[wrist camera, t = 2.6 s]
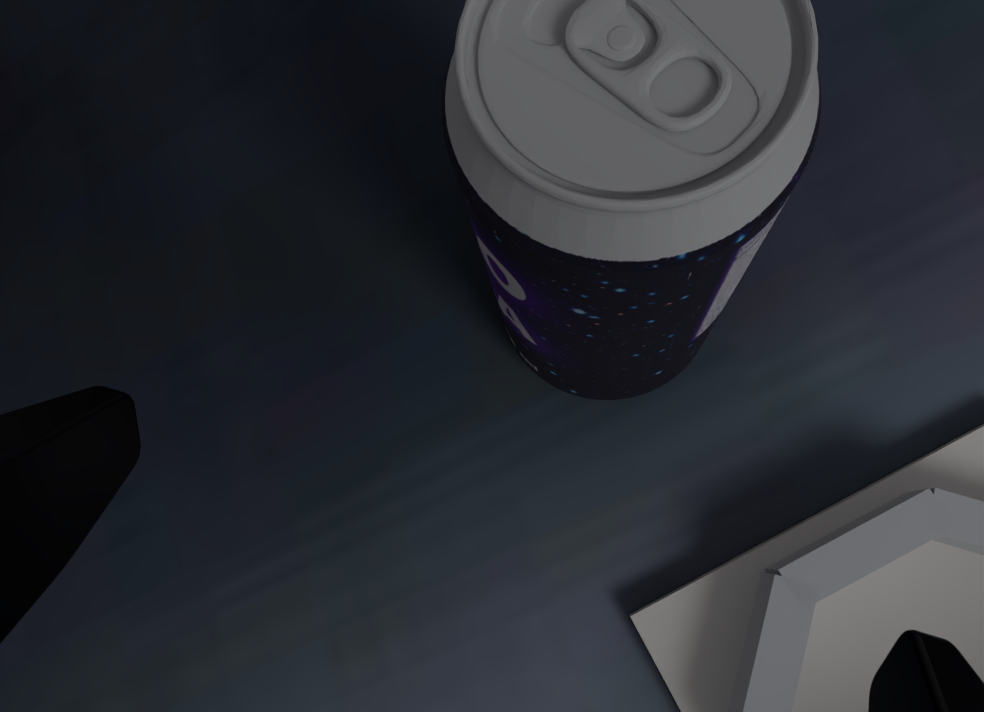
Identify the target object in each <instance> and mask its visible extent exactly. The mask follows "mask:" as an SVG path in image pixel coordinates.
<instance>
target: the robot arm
mask: <svg viewBox="0 0 984 712" xmlns="http://www.w3.org/2000/svg"><path fill="white" fill-rule="evenodd" d="M140 448H141V444H140V437H139V430H138V423H137V417H136V410H135V404H134V401H133V399H132V398H131V396H130V395H128V394H127V393H124V392H121V391H118V390H114V389H111V388H108V387H104V386H94V387H90V388H87V389H83V390H80V391H77V392H74V393H70V394H67V395H64V396H61V397H57V398H54V399H51V400H47V401H44V402H41V403H38V404H34V405H31V406H28V407H25V408H21V409H18V410H15V411H11V412H8V413H5V414H2V415H0V643H1V642H2V641H3V640H4V639H5V638H6V636H7V635H8V634H9V633H10V632H11V630H12V629H13V628H14V627H15V626H16V625H17V623H18V622H19V621H20V620H21V619H22V617H23V616H24V615H25V614H26V613H27V612H28V610H29V609H30V608H31V607H32V606H33V604H34V603H35V602H36V601H37V600H38V599H39V597H40V596H41V595H42V594H43V593H44V591H45V590H46V589H47V588H48V587H49V585H50V584H51V583H52V582H53V581H54V579H55V578H56V577H57V576H58V574H59V573H60V572H61V571H62V569H63V568H64V567H65V566H66V564H67V563H68V562H69V560H70V559H71V557H72V556H73V555H74V553H75V552H76V551H77V549H78V548H79V546H80V545H81V543H82V542H83V541H84V539H85V538H86V536H87V535H88V533H89V532H90V530H91V529H92V527H93V526H94V525H95V523H96V522H97V520H98V519H99V517H100V516H101V514H102V513H103V512H104V510H105V509H106V507H107V506H108V504H109V503H110V501H111V500H112V498H113V497H114V496H115V494H116V493H117V491H118V490H119V488H120V487H121V485H122V484H123V482H124V481H125V480H126V478H127V477H128V475H129V474H130V472H131V471H132V469H133V468H134V466H135V464H136V463H137V460H138V458H139V454H140ZM868 712H984V682H983V681H982V680H981V678H980V677H979V676H978V675H977V673H976V672H975V671H974V669H973V668H972V667H971V666H970V664H969V663H968V662H967V660H966V659H965V658H964V656H963V655H962V654H961V653H960V651H959V650H958V649H957V648H956V647H955V646H954V645H953V644H952V643H951V642H950V641H948V640H946V639H944V638H940V637H937V636H934V635H930V634H927V633H924V632H920V631H917V630H906V631H905V632H903V633H902V634H901V635H900V636H899V638H898V639H897V641H896V642H895V644H894V646H893V647H892V649H891V650H890V652H889V653H888V655H887V657H886V658H885V660H884V661H883V663H882V664H881V666H880V667H879V669H878V671H877V672H876V674H875V676H874V678H873V680H872V683H871V687H870V692H869V709H868Z"/></svg>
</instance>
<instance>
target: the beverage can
mask: <svg viewBox="0 0 984 712" xmlns="http://www.w3.org/2000/svg"><path fill="white" fill-rule="evenodd" d="M817 61H818V34H817V28H816V21H815V15H814V10H813V8H812V5H811V2H810V0H466V3H465V6H464V9H463V12H462V15H461V18H460V21H459V24H458V29H457V34H456V41H455V49H454V51H453V53H452V56H451V59H450V62H449V65H448V68H447V72H446V76H445V80H444V87H443V94H442V123H443V132H444V137H445V142H446V146H447V149H448V153H449V156H450V159H451V162H452V165H453V168H454V171H455V174H456V177H457V181H458V184H459V187H460V190H461V193H462V196H463V199H464V202H465V205H466V208H467V211H468V214H469V217H470V220H471V223H472V226H473V229H474V232H475V235H476V239H477V242H478V245H479V248H480V251H481V254H482V257H483V260H484V263H485V266H486V269H487V272H488V275H489V278H490V281H491V284H492V287H493V290H494V293H495V297H496V300H497V303H498V306H499V309H500V312H501V315H502V318H503V321H504V324H505V327H506V330H507V333H508V335H509V338H510V340H511V342H512V344H513V346H514V348H515V349H516V351H517V353H518V354H519V356H520V357H521V358H522V360H523V361H524V362H525V363H526V364H527V366H528V367H529V368H530V369H531V370H532V371H533V372H535V373H536V374H537V375H538V376H539V377H541V378H542V379H543V380H545V381H546V382H548V383H549V384H551V385H553V386H554V387H556V388H558V389H560V390H563V391H565V392H567V393H570V394H573V395H576V396H580V397H584V398H590V399H599V400H616V399H625V398H630V397H635V396H638V395H641V394H644V393H647V392H650V391H652V390H654V389H656V388H658V387H660V386H662V385H664V384H665V383H667V382H668V381H670V380H671V379H673V378H674V377H675V376H676V375H678V374H679V373H680V372H681V371H682V370H683V369H684V368H685V367H686V366H687V365H688V364H689V363H690V362H691V360H692V359H693V358H694V356H695V355H696V354H697V352H698V350H699V349H700V347H701V345H702V344H703V342H704V340H705V339H706V337H707V335H708V334H709V332H710V330H711V328H712V327H713V325H714V323H715V322H716V320H717V318H718V317H719V315H720V313H721V311H722V310H723V308H724V306H725V305H726V303H727V301H728V299H729V298H730V296H731V294H732V293H733V291H734V289H735V288H736V286H737V284H738V282H739V281H740V279H741V277H742V276H743V274H744V272H745V271H746V269H747V267H748V265H749V264H750V262H751V260H752V259H753V257H754V255H755V253H756V252H757V250H758V248H759V247H760V245H761V243H762V242H763V240H764V238H765V236H766V235H767V233H768V231H769V230H770V228H771V226H772V225H773V223H774V221H775V219H776V218H777V216H778V214H779V213H780V211H781V209H782V207H783V206H784V204H785V202H786V201H787V199H788V197H789V196H790V194H791V192H792V190H793V189H794V187H795V185H796V184H797V182H798V180H799V179H800V177H801V175H802V173H803V171H804V169H805V167H806V165H807V163H808V161H809V158H810V156H811V153H812V151H813V147H814V144H815V141H816V138H817V133H818V128H819V122H820V114H821V87H820V79H819V73H818V68H817Z"/></svg>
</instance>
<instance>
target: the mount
mask: <svg viewBox="0 0 984 712" xmlns="http://www.w3.org/2000/svg"><path fill="white" fill-rule="evenodd" d="M629 616H630V618H631V620H632V621H633V623H634V625H635V627H636V629H637V631H638V633H639V635H640V636H641V638H642V640H643V642H644V644H645V646H646V648H647V649H648V651H649V653H650V655H651V657H652V659H653V661H654V663H655V664H656V666H657V668H658V670H659V672H660V674H661V676H662V677H663V679H664V681H665V683H666V685H667V687H668V689H669V691H670V692H671V694H672V696H673V698H674V700H675V702H676V704H677V705H678V707H679V709H680V711H681V712H868V709H869V692H870V687H871V683H872V680H873V678H874V676H875V674H876V672H877V671H878V669H879V667H880V666H881V664H882V663H883V661H884V660H885V658H886V657H887V655H888V653H889V652H890V650H891V649H892V647H893V646H894V644H895V642H896V641H897V639H898V638H899V636H900V635H901V634H902V633H903V632H905V631H906V630H917V631H920V632H924V633H927V634H930V635H934V636H937V637H940V638H944V639H946V640H948V641H950V642H951V643H952V644H953V645H954V646H955V647H956V648H957V649H958V650H959V651H960V653H961V654H962V655H963V656H964V658H965V659H966V660H967V662H968V663H969V664H970V666H971V667H972V668H973V669H974V671H975V672H976V673H977V675H978V676H979V677H980V678H981V680H982V681H983V682H984V424H982V425H980V426H978V427H976V428H974V429H973V430H971V431H969V432H967V433H965V434H963V435H961V436H960V437H958V438H956V439H954V440H952V441H950V442H948V443H947V444H945V445H943V446H941V447H939V448H937V449H935V450H934V451H932V452H930V453H928V454H926V455H924V456H922V457H921V458H919V459H917V460H915V461H913V462H911V463H909V464H908V465H906V466H904V467H902V468H900V469H898V470H896V471H895V472H893V473H891V474H889V475H887V476H885V477H883V478H882V479H880V480H878V481H876V482H874V483H872V484H870V485H869V486H867V487H865V488H863V489H861V490H859V491H857V492H856V493H854V494H852V495H850V496H848V497H846V498H844V499H843V500H841V501H839V502H837V503H835V504H833V505H831V506H830V507H828V508H826V509H824V510H822V511H820V512H818V513H817V514H815V515H813V516H811V517H809V518H807V519H805V520H804V521H802V522H800V523H798V524H796V525H794V526H793V527H791V528H789V529H787V530H785V531H783V532H781V533H780V534H778V535H776V536H774V537H772V538H770V539H768V540H767V541H765V542H763V543H761V544H759V545H757V546H755V547H754V548H752V549H750V550H748V551H746V552H744V553H742V554H741V555H739V556H737V557H735V558H733V559H731V560H729V561H728V562H726V563H724V564H722V565H720V566H718V567H716V568H715V569H713V570H711V571H709V572H707V573H705V574H703V575H702V576H700V577H698V578H696V579H694V580H692V581H690V582H689V583H687V584H685V585H683V586H681V587H679V588H677V589H676V590H674V591H672V592H670V593H668V594H666V595H664V596H663V597H661V598H659V599H657V600H655V601H653V602H651V603H650V604H648V605H646V606H644V607H642V608H640V609H638V610H637V611H635V612H633V613H631V614H629Z"/></svg>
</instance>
